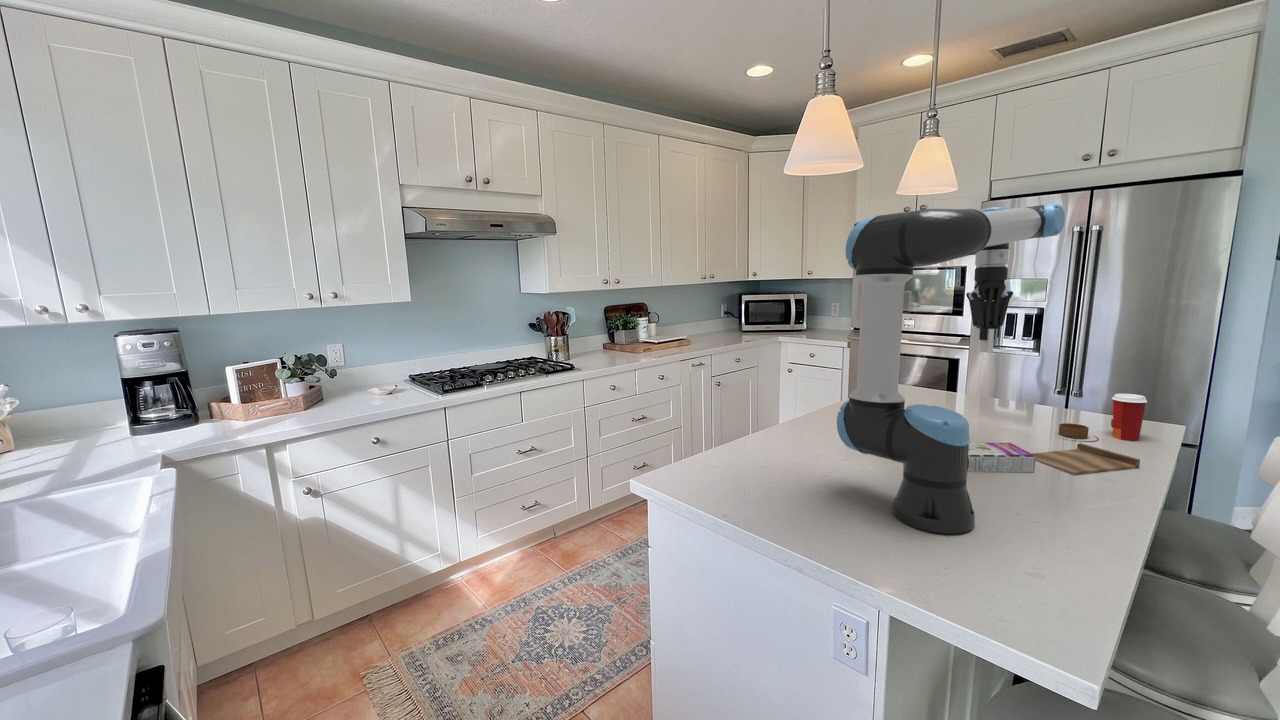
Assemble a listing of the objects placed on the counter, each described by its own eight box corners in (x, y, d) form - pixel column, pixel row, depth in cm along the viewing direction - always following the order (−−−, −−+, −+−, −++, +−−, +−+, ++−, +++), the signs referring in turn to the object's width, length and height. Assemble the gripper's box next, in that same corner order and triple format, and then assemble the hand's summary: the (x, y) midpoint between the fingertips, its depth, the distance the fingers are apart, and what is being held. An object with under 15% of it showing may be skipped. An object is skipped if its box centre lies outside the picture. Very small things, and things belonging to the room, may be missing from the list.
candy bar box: (1009, 459, 143) (946, 458, 145) (1010, 442, 142) (947, 441, 144) (1034, 474, 132) (966, 472, 134) (1036, 455, 131) (967, 454, 133)
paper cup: (1148, 442, 154) (1153, 396, 152) (1134, 446, 151) (1139, 399, 149) (1116, 436, 161) (1120, 392, 159) (1102, 439, 158) (1106, 394, 156)
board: (1073, 475, 130) (1074, 466, 129) (1020, 457, 144) (1020, 449, 144) (1139, 468, 133) (1140, 459, 133) (1080, 451, 148) (1081, 443, 148)
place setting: (1039, 432, 170) (1041, 414, 169) (1118, 437, 162) (1119, 418, 161) (1058, 447, 154) (1059, 428, 153) (1145, 453, 146) (1147, 433, 145)
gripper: (981, 266, 137) (977, 354, 140) (1024, 265, 139) (1018, 352, 142) (959, 267, 144) (955, 351, 147) (1000, 266, 146) (995, 349, 150)
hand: (986, 351), depth 145 cm, fingers closed
